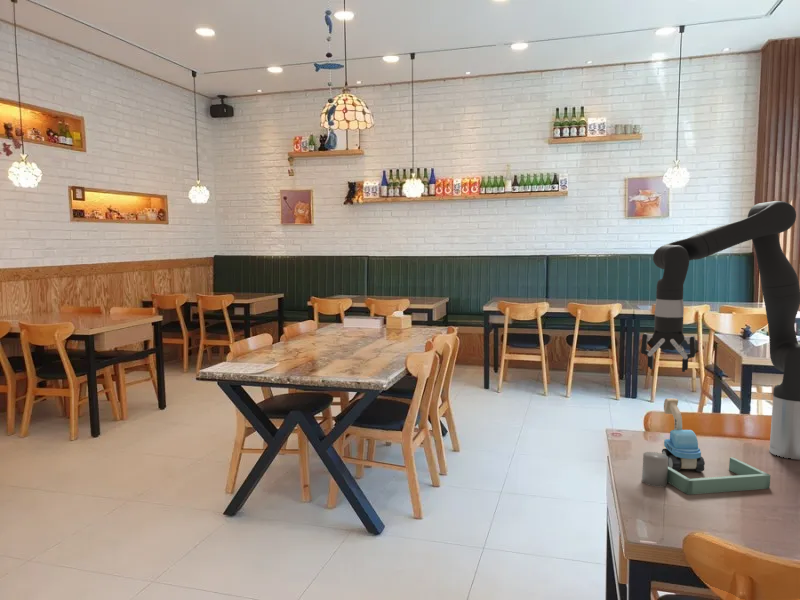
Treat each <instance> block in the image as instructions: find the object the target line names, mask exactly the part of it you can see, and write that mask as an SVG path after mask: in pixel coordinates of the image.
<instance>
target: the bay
mask: <svg viewBox="0 0 800 600" xmlns="http://www.w3.org/2000/svg"><path fill="white" fill-rule="evenodd" d="M728 464H729V465H728V471H730V472H732V473H734V474H736V475H725V476H713V477H712V476H711V477H710V476H709V477H699V478H698V477H697V478H696V477H695V478H689V477H687V476H685V475H684V474H682V473H681V472H680V471H675V470H674V469H672V468H670V467H669V465H668V474H667V484H668V483H669V484H670V485H671V486H674V487H675V488H676V489H677V490H679V491H681V492H683V493H684V494H686V495H687V496H688V495H689V496H690V495H699V494H701V495H702V494H715V493H717V494H718V493H728V492H739V491H742V492H743V491H753V490H765V489H766V490H767V489H770V488H771V474H769V473H767V472H766V471H762V470H761V469H758V468H756V467H755V466H753V465H750V464H748V463H746V462H744V461H742V460H740V459H737V458H735V457H729V463H728Z"/></svg>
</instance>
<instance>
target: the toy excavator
mask: <svg viewBox="0 0 800 600" xmlns="http://www.w3.org/2000/svg"><path fill="white" fill-rule="evenodd" d="M678 404H679V399H678V398H674V397H673V398H670V397H669V398H668V397H667V398H665V399H664V402H663V411H664V413H665V414H666V415H667V414H668V415H669V414H670V415H672V416H673V421H674V424H673V425H674V428H673V429H671V430H670V432H669V438H665V439H664V440H663V443H664V444H663V446H664V448H662V449H661V453H662V454H665V455H667V456H668V466H669V467H670V468H672V469H674V470H675V471H677V472H680V470H694V471H695V472H699V473H700V472H704V471H705V465H706V462H705V459H704V457H703V456H702V451H701V449H700V448H699V442H698V438H697V435H696V433H695V432H694V431H693V430H692V429H683V417H682V413H681V410H680V409H679V406H678Z"/></svg>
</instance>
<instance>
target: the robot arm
mask: <svg viewBox="0 0 800 600" xmlns="http://www.w3.org/2000/svg"><path fill="white" fill-rule="evenodd" d="M796 220H797V211H796V209H795V207H794V206H793V205H792V204H791V203H790V202H786V201H784V200H783V201H782V200H781V201H780V200H775V201H773V200H772V201H768V202H767V201H766V202H760V203H756V204H755V205H753V206H752V207H751V208H750V209H749V210H748V214H747V217H746V218H743V219H740V220H737V221H733V222H730V223H726V224H723V225H718V226H716V227H712V228H710V229H707V230H704V231H702V232H699V233H696V234H694V235H691V236H690V237H687V238H684V239H680V240H676V241H674V242H673V241H672V242H669V243H666V244H664V245H662V246H660V247H658V248H657V249H656V250H655V251H654V253H653V255H652V256H653V257H652V261H653V263H654V264H655V266H656V267H657V268H659V269H661V270H663V274H662V278H661V279H658V280H657V284H656V293H655V294H656V295H655V297H656V299H655V307H654V328H653V329H654V333H651V334H650V333H647V332H644V333H643V334H642V336H641V337H642V338H641V346H640V353H641V354H642V355H645V356H647V367H648V368H649V369H650V370H654V361H655V360H654V353H656V352H657V350H659V349H660V350H663V351H665V350H669V351H675V350H676V351H677V353H679V354H680V356H681V357H682V363H681V372H682V373H685V372H686V371H688V369H689V359H691V358H692V359H693V358H695V357H696V337H695V335H690V336H686V335H684V315H685V314H684V313H685V311H684V310H685V309H684V307H685V306H684V284H685V281H686V279H687V275H688V270H689V265H690V261H694V260H701V259H704V258H707V257H710V256H713V255H714V254H717V253H720V252H722V251H725V250H726V249H729V248H732V247H734V246H737V245H740V244H742V243H745V242H748V241H751V240H752V244H753V247H754V251H755V256H756V260H757V261H756V262H757V266H758V267H757V268H758V271H759V277H760V278H759V279H760V285H761V292H762V297H763V301H764V307H765V314H766V315H765V316H766V321H767V326H768V336H769V337H768V338H769V339H768V340H769V356H770V361H771V364H772V365H773V367H774V368H775V369H776V370H778V371H780V372H782V373H783V376H782V382H781V383H780V384H777V385H775V386H774V388H773V394H772V408H771V409H772V410H771V411H772V412H771V420H770V421H771V423H770V436H769V437H770V439H769V450H768V451H769V453H771V454H772V455H773V456H776V455H777V456H776V457H779V456H780V457H779V458H783V457H784V458H785V459H788V458H791V459H790V460H800V343H799V342H798V338H797V332H796V324H795V322H796V317H797V314H798V311H799V308H800V283H799V277H798V274H797V272H796V270H795V268H794V267H793V266H792V264H791V262H790V261H789V259H788V257H787V256H786V254H785V253H784V251H783V249H782V247H781V244H780V243H781V242H780V237H779V234H781V233H784V232H786V231H788V230H789V229H791V228H792V227H793V226H794V225H795V223H796ZM651 339H652V340H653V341H654V343H655V345H654V346H653V347H652V348H651V349H650V350H648V348H647V347H648V342H649V341H650V340H651ZM684 341H685V342H686V343H687V345H689V353H687V351H686V350H685V349H684V346H682V345H681V344H683V342H684ZM784 458H783V459H784Z"/></svg>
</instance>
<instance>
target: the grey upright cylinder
mask: <svg viewBox="0 0 800 600" xmlns="http://www.w3.org/2000/svg"><path fill="white" fill-rule="evenodd" d="M642 456H643V457H642V473H641V481H642V482H643V483H644V484H645V483H646V484H645V485H648V486H652V487H659V488H660V487H665V486H667V484H668V482H667V474H668V466H669V465H668V456H667V455H665V454H662V452H658V451H657V452H656V451H646V452H645V451H644V452H643V453H642Z"/></svg>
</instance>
